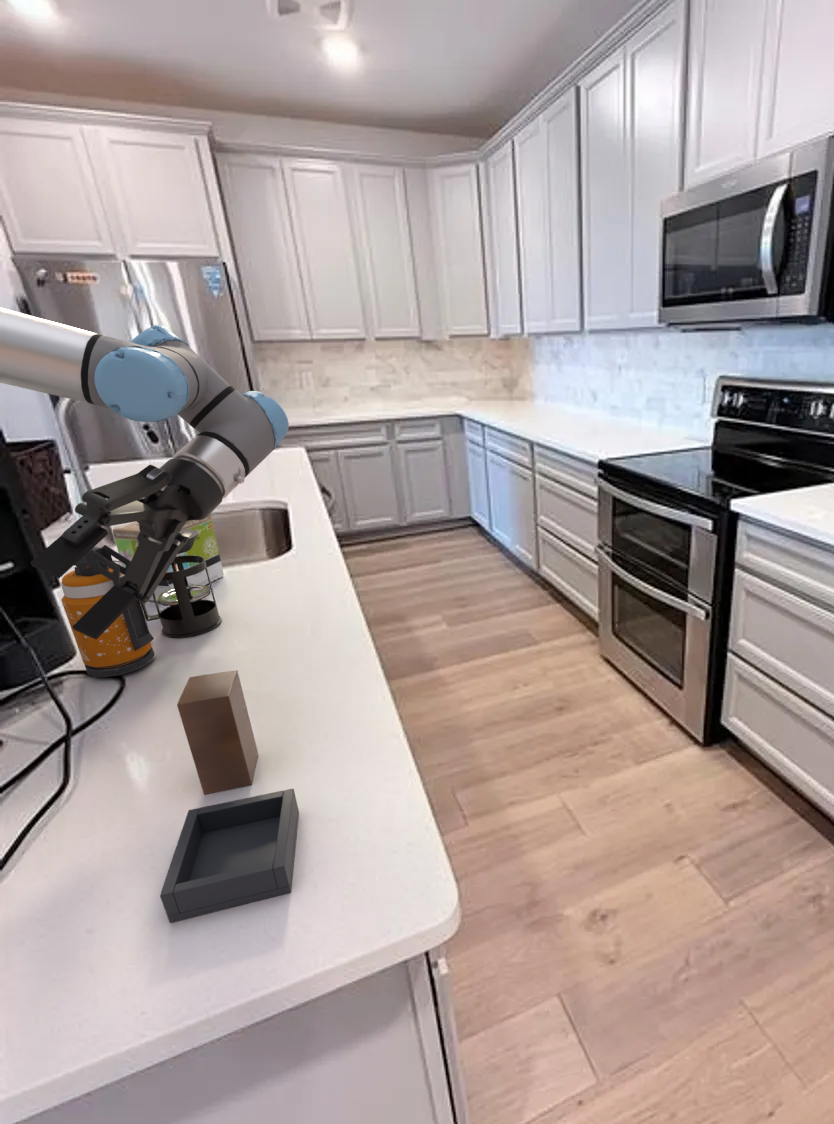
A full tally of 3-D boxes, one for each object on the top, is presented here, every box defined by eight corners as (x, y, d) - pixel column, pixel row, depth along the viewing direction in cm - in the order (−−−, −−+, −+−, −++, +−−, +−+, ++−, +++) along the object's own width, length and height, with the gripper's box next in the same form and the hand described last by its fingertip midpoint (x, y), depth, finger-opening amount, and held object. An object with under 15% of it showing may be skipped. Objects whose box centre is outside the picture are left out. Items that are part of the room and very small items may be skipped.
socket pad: (169, 923, 54) (159, 895, 53) (196, 834, 64) (188, 809, 63) (291, 892, 57) (284, 865, 56) (299, 812, 67) (293, 787, 65)
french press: (223, 610, 117) (193, 491, 108) (228, 628, 109) (196, 502, 100) (151, 625, 111) (113, 500, 102) (150, 645, 104) (109, 513, 95)
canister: (123, 650, 102) (85, 535, 95) (180, 656, 100) (146, 539, 92) (73, 677, 94) (27, 554, 86) (134, 684, 92) (93, 558, 84)
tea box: (175, 603, 120) (154, 530, 115) (130, 600, 122) (108, 528, 116) (226, 575, 134) (210, 509, 128) (186, 573, 136) (168, 508, 130)
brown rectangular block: (203, 794, 69) (176, 704, 65) (213, 762, 75) (189, 677, 70) (252, 785, 71) (228, 696, 66) (258, 754, 76) (237, 669, 72)
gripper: (213, 422, 69) (63, 555, 56) (234, 547, 89) (126, 667, 76) (150, 391, 68) (-17, 518, 55) (185, 524, 88) (68, 640, 75)
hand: (65, 604), depth 66 cm, fingers open, 13 cm apart
